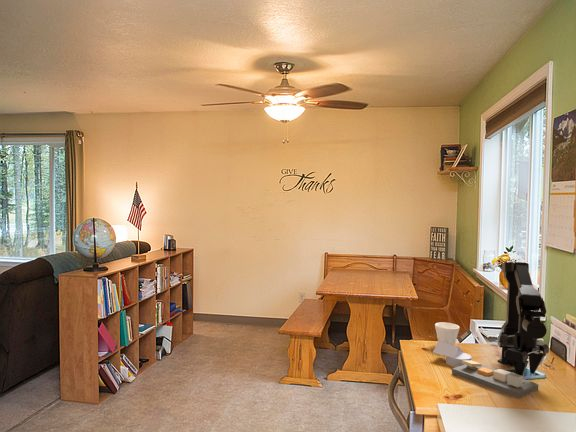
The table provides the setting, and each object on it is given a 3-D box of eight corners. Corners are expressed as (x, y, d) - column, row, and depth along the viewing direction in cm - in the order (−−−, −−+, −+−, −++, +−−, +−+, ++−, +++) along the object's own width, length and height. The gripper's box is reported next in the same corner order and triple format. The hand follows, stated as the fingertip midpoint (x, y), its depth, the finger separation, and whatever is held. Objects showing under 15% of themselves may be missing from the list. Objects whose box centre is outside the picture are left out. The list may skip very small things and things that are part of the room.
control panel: (472, 367, 173) (473, 359, 173) (538, 389, 153) (538, 381, 153) (451, 374, 165) (452, 366, 165) (518, 398, 146) (518, 390, 146)
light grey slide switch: (511, 381, 153) (512, 372, 153) (522, 385, 151) (522, 375, 150) (507, 383, 152) (507, 374, 152) (517, 387, 149) (518, 377, 149)
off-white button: (499, 375, 160) (499, 368, 159) (510, 379, 156) (511, 372, 156) (493, 378, 157) (493, 370, 157) (504, 382, 154) (504, 374, 154)
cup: (455, 352, 189) (456, 330, 189) (431, 347, 194) (432, 326, 194) (460, 346, 198) (461, 324, 197) (437, 341, 203) (438, 320, 203)
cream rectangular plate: (471, 363, 169) (471, 360, 169) (481, 366, 166) (481, 363, 166) (461, 363, 166) (462, 360, 166) (471, 366, 163) (472, 363, 163)
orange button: (483, 373, 164) (483, 367, 164) (493, 377, 161) (494, 370, 161) (477, 376, 162) (477, 369, 162) (487, 380, 159) (488, 372, 159)
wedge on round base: (432, 361, 178) (466, 370, 170) (433, 344, 178) (466, 352, 169) (441, 355, 185) (474, 364, 176) (442, 339, 185) (475, 346, 176)
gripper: (518, 321, 166) (516, 363, 167) (490, 328, 155) (488, 373, 156) (550, 328, 157) (548, 373, 158) (523, 337, 146) (520, 385, 147)
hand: (525, 376), depth 155 cm, fingers open, 8 cm apart
